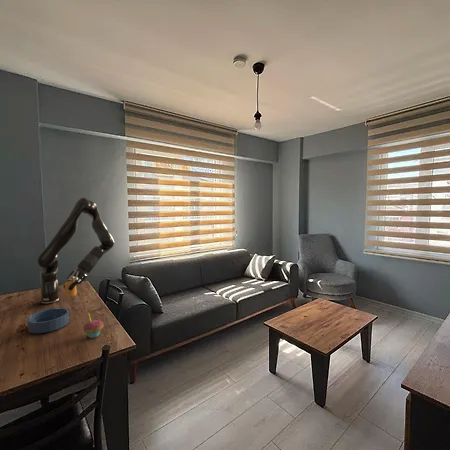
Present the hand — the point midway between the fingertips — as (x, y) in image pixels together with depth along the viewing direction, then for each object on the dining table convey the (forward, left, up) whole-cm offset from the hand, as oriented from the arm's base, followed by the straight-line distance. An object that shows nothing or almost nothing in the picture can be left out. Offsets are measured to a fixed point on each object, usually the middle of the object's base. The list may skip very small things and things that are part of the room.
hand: (67, 288), depth 134 cm
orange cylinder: (-1, +1, -4) cm, 5 cm away
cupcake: (+21, +17, -18) cm, 33 cm away
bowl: (+4, -8, -18) cm, 20 cm away
